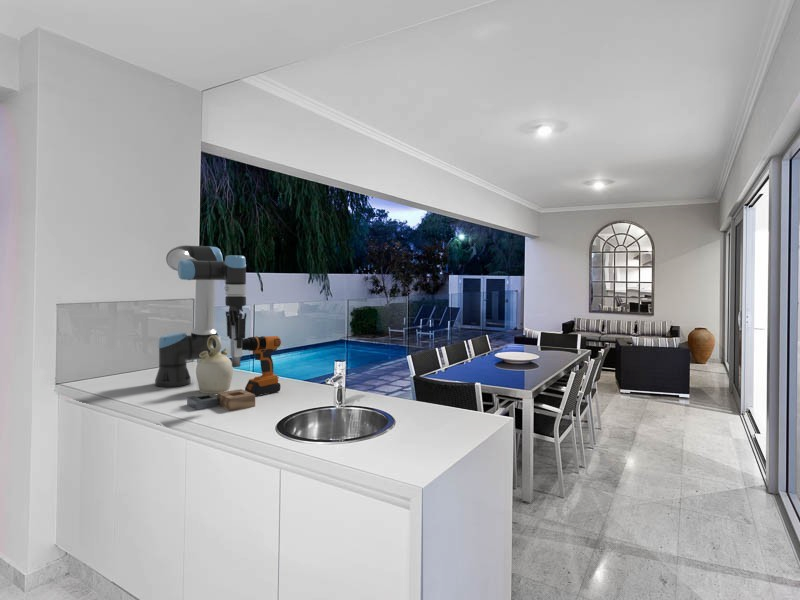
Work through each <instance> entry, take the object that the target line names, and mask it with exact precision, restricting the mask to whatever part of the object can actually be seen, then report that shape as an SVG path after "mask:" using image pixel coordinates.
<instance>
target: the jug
mask: <svg viewBox="0 0 800 600" xmlns="http://www.w3.org/2000/svg"><path fill="white" fill-rule="evenodd" d="M213 338H214V339H215V341H216V349H214V348H213V345H212V340H213ZM207 346H208V348H209V350H210V351H211V352H210V353H209V354H208V351H203V352H201V353H200V355H199V357H201V359H198V362H197V363H196V367H195V375H196V379H197V380H196V381H197V385H198V389H199V392H200V394H210V393H213V394H217V393H220V392H226V391H230V388H231V384H232V380H233V375H234V367H232V359H230V358H229V357H228V356H227V355H228V354H229V353H228V348H224V349H223V350H221V349H222V339H221V340H220V338H219V337H218V336H217V335H211V336H210V337H209V338H208V341H207ZM219 351H221V352H219Z"/></svg>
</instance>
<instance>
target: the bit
mask: <svg viewBox="0 0 800 600" xmlns="http://www.w3.org/2000/svg"><path fill="white" fill-rule="evenodd" d="M234 339H236V337H235V325H232V356H231V362H232V367H233V368H240V367H241V357H235V351H234Z"/></svg>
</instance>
